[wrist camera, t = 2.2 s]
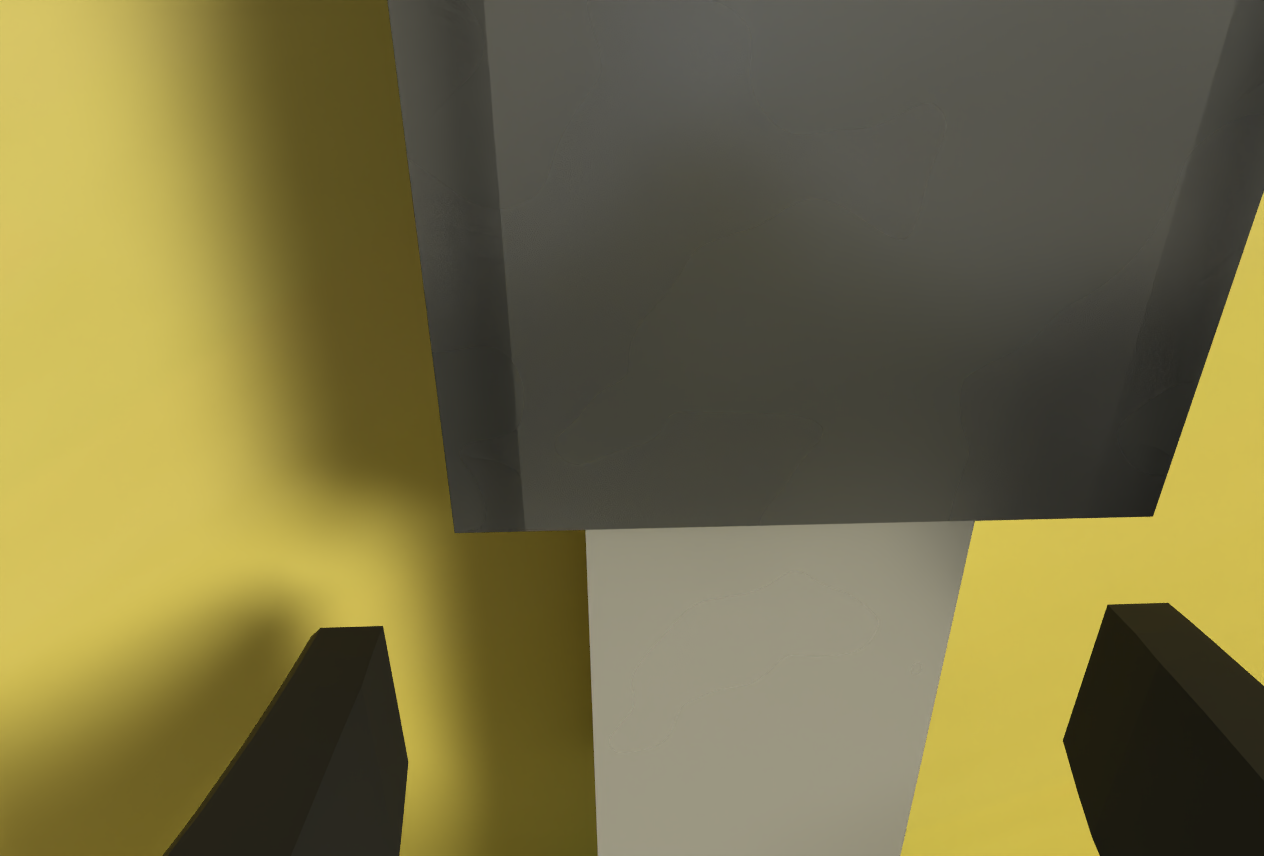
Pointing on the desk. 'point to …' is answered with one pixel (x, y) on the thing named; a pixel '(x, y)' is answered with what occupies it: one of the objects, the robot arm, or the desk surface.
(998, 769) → the desk surface
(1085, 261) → the sleeve
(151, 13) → the desk surface
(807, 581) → the long grey plank
